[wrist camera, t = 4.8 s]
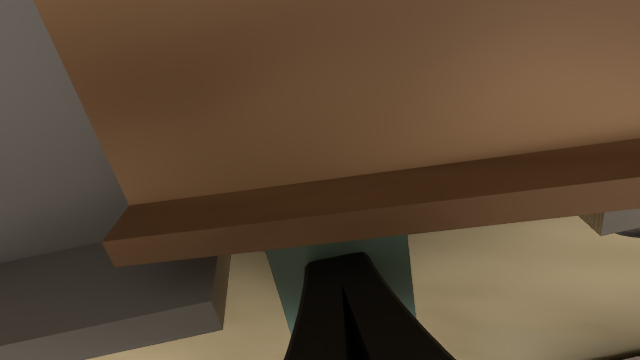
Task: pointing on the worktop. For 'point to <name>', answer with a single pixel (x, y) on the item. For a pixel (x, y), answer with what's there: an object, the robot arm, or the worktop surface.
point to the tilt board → (351, 121)
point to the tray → (75, 224)
